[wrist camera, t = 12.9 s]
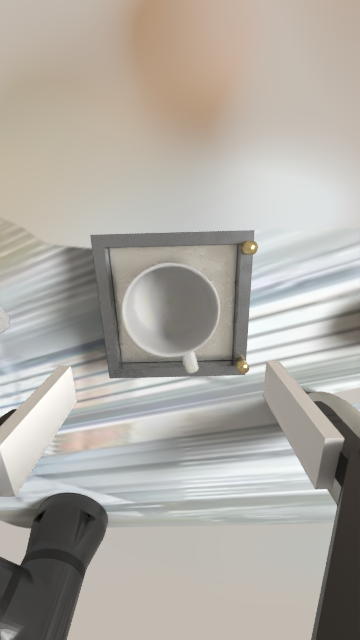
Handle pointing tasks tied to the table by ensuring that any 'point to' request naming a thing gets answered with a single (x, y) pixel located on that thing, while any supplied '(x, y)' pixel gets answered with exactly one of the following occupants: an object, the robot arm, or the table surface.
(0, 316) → the low poly bottle
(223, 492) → the table surface
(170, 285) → the teacup
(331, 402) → the grey bottle
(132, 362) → the grey serving tray
